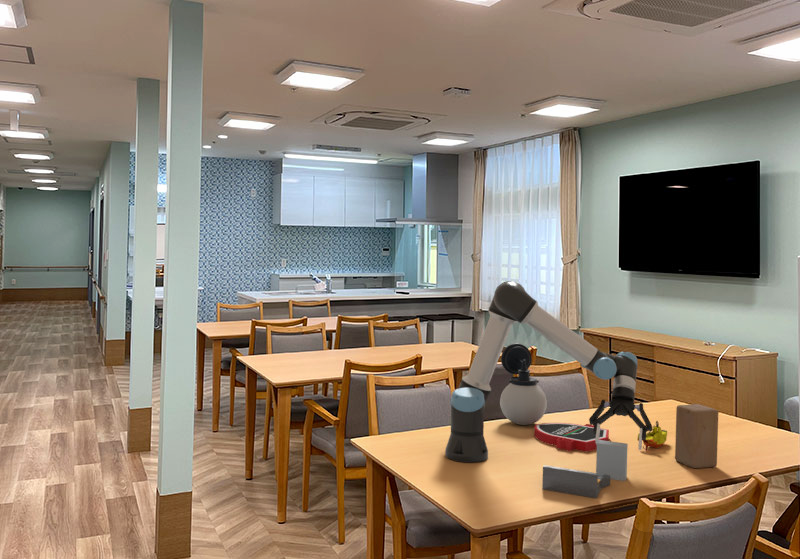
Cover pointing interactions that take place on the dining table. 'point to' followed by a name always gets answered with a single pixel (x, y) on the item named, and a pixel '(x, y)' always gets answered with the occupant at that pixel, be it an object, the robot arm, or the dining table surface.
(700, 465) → the wooden block
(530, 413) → the light fixture
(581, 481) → the rack
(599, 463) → the panel
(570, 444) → the emblem
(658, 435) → the toy submarine
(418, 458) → the dining table surface
